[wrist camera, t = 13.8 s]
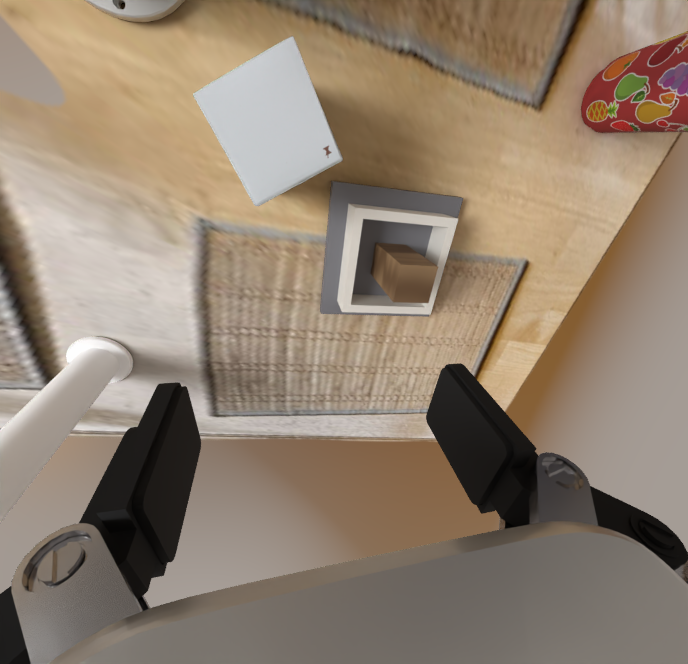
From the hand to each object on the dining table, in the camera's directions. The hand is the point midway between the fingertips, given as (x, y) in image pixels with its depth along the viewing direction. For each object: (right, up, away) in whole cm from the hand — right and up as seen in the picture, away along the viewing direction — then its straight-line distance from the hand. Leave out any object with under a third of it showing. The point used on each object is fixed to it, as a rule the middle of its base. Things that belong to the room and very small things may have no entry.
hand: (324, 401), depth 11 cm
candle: (-31, -1, +27) cm, 41 cm away
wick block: (+6, +12, +26) cm, 30 cm away
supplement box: (-6, +22, +19) cm, 30 cm away
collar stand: (+6, +13, +27) cm, 31 cm away
